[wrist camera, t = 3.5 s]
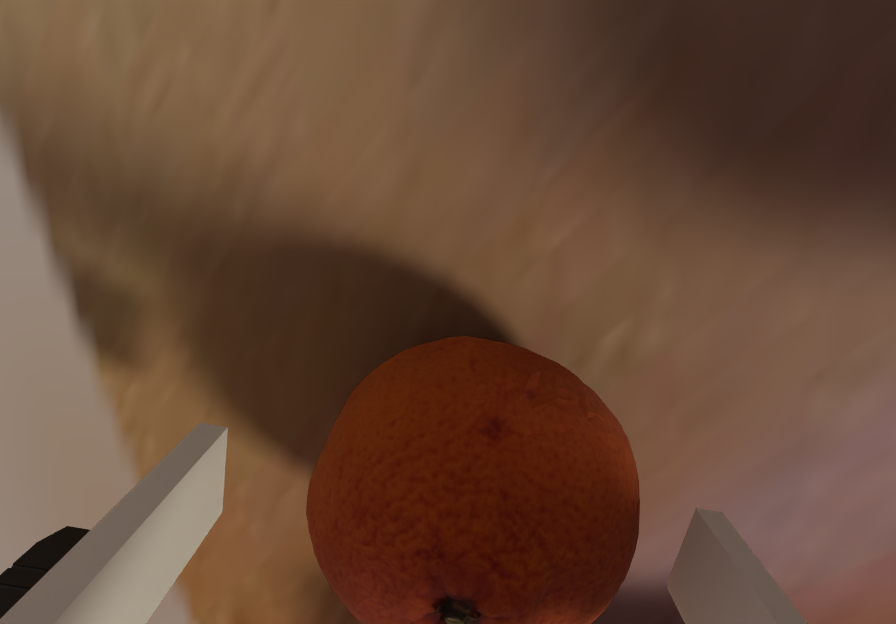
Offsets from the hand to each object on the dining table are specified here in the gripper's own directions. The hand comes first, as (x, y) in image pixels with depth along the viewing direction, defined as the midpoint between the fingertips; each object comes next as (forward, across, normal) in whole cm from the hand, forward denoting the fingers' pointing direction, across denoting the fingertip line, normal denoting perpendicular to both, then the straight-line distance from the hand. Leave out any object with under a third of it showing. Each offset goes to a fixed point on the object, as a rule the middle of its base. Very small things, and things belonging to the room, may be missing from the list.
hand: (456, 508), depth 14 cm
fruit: (+4, 0, 0) cm, 4 cm away
